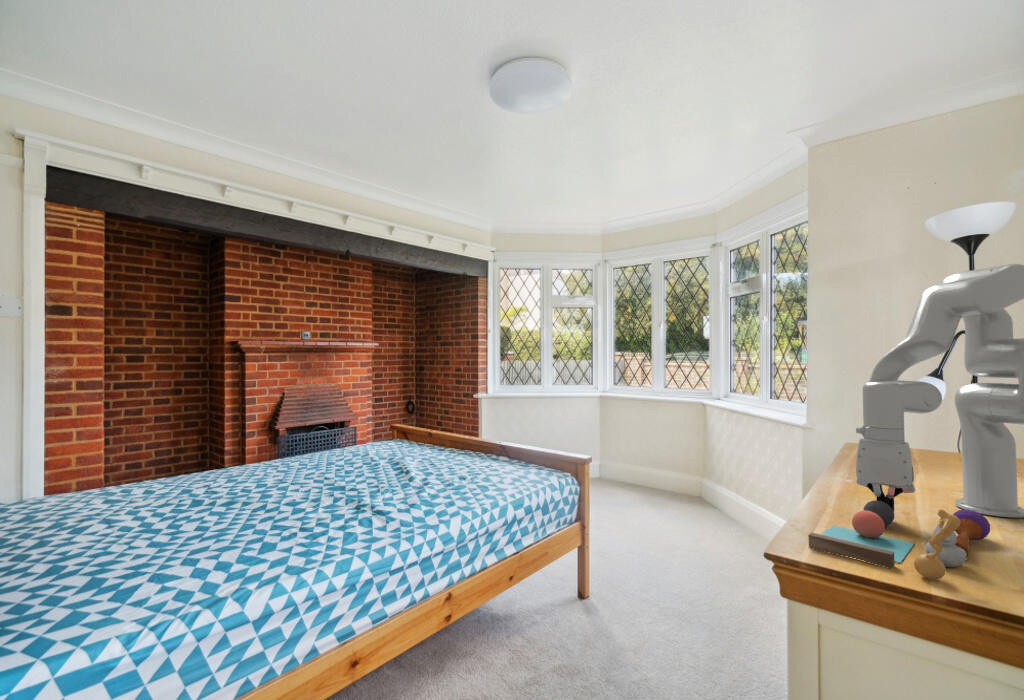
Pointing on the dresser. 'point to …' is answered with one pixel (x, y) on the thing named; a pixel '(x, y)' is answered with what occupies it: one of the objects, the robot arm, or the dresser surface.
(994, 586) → the dresser surface
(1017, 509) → the robot arm
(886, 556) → the walnut rail
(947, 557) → the gray statuette
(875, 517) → the red ball
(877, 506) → the dark gray ball
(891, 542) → the teal mark
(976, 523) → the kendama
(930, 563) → the figurine
